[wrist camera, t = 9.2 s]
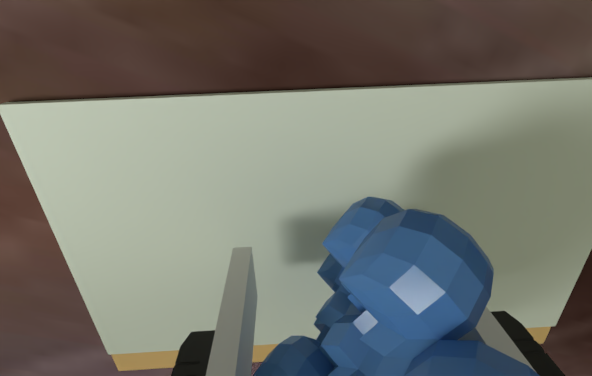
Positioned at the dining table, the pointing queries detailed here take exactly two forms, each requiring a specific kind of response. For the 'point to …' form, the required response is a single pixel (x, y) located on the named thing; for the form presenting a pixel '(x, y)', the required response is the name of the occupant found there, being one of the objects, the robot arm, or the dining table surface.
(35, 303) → the dining table surface
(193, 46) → the dining table surface
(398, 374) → the grapes
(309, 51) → the dining table surface
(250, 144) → the mat
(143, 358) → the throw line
